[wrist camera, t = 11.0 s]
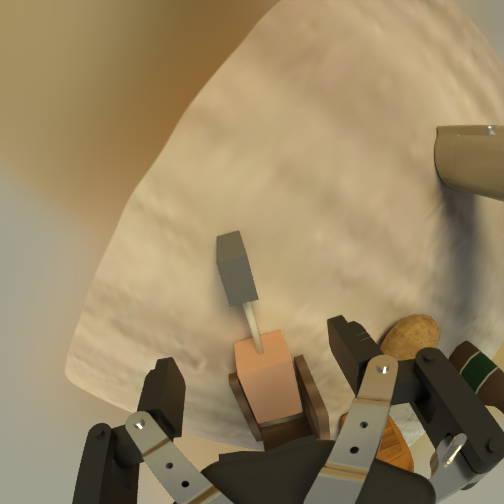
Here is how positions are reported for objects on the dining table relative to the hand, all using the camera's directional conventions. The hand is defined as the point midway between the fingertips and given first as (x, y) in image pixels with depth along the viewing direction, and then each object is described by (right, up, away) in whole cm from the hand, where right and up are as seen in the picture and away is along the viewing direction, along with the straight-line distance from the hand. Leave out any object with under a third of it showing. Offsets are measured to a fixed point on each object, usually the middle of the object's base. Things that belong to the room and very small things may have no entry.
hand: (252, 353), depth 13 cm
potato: (+22, -9, +25) cm, 34 cm away
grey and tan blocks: (0, -4, +20) cm, 20 cm away
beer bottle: (+44, -17, +30) cm, 55 cm away
